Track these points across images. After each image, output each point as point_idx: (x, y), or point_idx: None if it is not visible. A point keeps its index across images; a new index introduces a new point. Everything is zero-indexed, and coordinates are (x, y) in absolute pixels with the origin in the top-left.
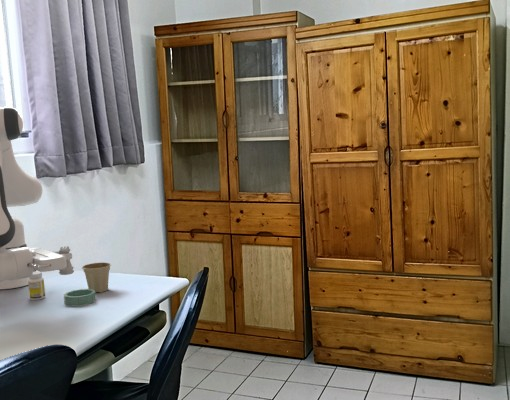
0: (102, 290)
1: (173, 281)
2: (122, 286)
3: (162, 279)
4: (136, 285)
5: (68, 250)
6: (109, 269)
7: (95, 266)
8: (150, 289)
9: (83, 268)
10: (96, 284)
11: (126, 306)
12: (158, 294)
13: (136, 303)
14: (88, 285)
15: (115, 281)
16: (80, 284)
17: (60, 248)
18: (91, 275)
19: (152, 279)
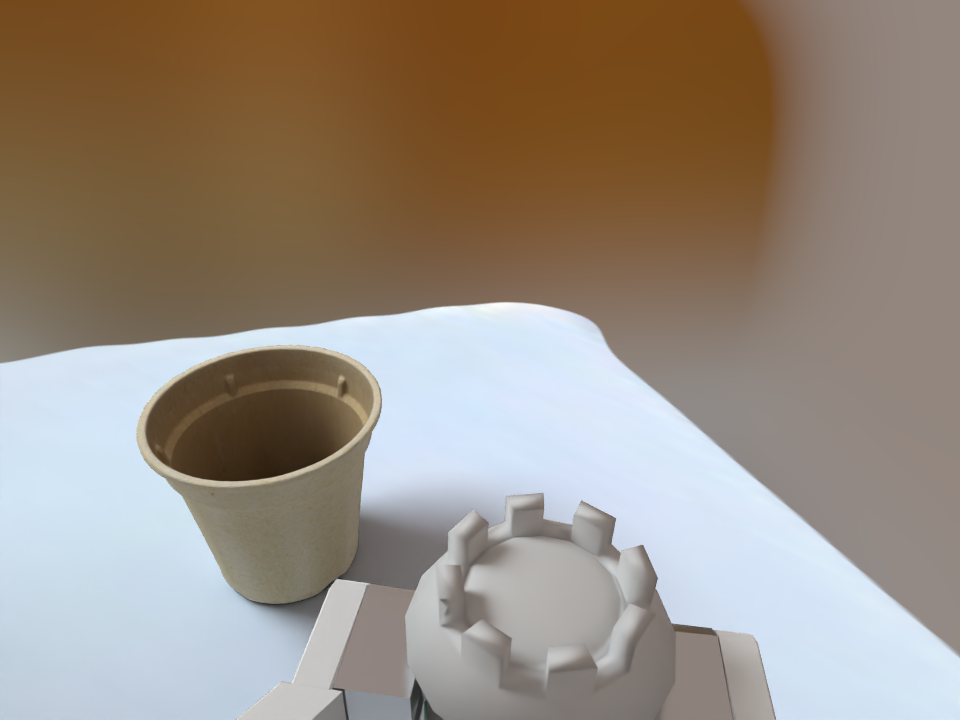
0: (353, 552)
1: (536, 328)
2: (370, 446)
3: (459, 327)
4: (431, 410)
5: (660, 599)
6: (356, 397)
7: (196, 398)
8: (572, 421)
9: (213, 487)
10: (330, 545)
11: (860, 686)
12: (706, 451)
13: (821, 607)
14: (251, 573)
15: None
16: (29, 523)
17: (504, 668)
18: (296, 510)
19: (413, 339)
